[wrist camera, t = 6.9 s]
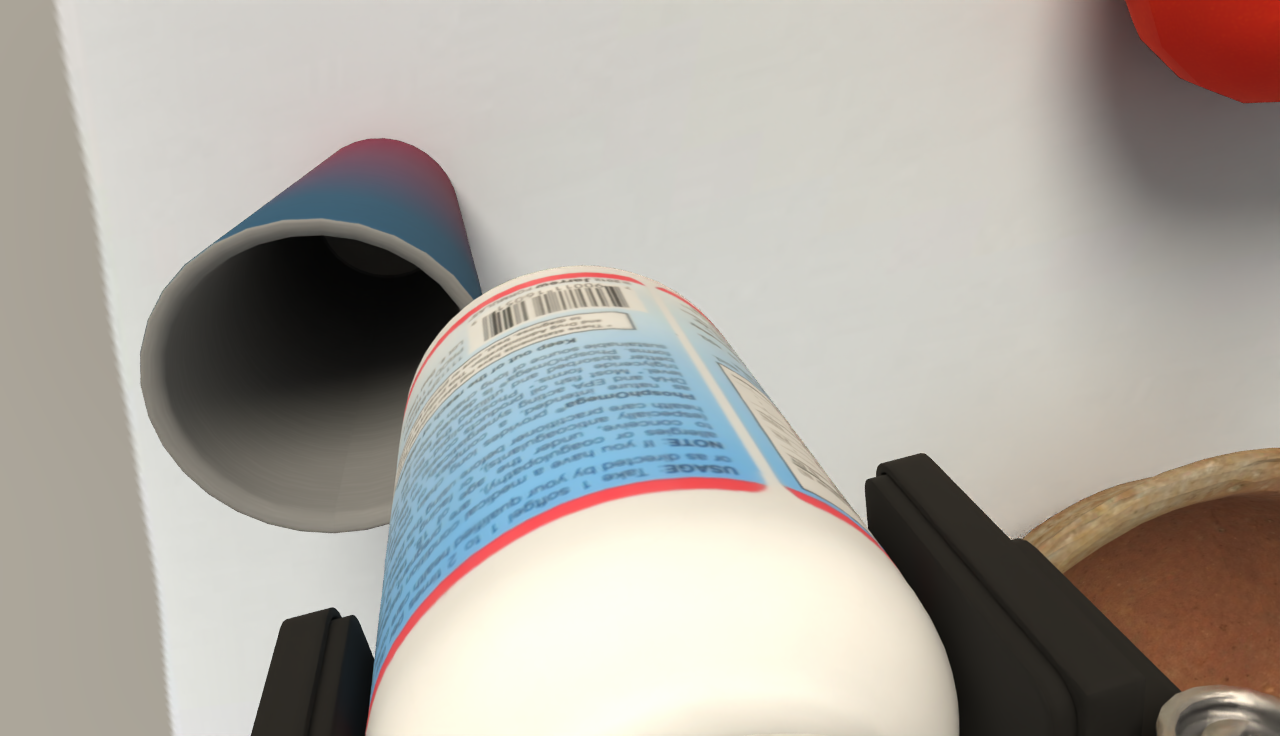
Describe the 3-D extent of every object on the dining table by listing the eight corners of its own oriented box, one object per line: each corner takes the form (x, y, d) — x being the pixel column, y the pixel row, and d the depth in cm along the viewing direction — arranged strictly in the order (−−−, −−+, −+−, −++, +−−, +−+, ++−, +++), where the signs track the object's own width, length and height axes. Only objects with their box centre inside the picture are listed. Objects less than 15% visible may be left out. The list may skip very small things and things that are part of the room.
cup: (275, 103, 29) (116, 208, 16) (487, 118, 31) (508, 227, 17) (287, 301, 32) (159, 537, 18) (481, 306, 33) (496, 531, 20)
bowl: (802, 786, 46) (865, 934, 39) (897, 360, 37) (1001, 451, 30) (1193, 755, 51) (1313, 882, 44) (1360, 372, 42) (1545, 453, 35)
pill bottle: (371, 532, 16) (227, 1428, 6) (449, 215, 14) (423, 777, 4) (679, 582, 18) (955, 1350, 8) (786, 303, 16) (1338, 855, 6)
